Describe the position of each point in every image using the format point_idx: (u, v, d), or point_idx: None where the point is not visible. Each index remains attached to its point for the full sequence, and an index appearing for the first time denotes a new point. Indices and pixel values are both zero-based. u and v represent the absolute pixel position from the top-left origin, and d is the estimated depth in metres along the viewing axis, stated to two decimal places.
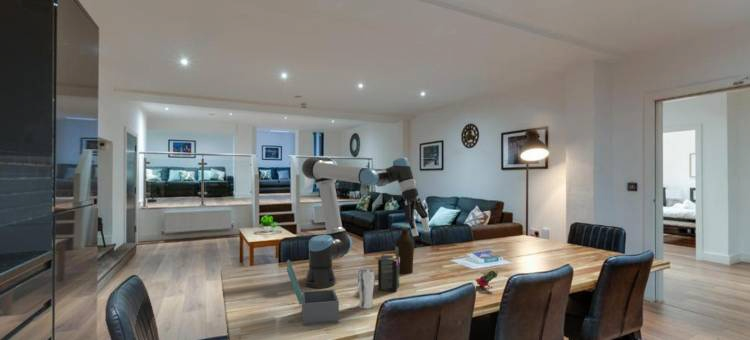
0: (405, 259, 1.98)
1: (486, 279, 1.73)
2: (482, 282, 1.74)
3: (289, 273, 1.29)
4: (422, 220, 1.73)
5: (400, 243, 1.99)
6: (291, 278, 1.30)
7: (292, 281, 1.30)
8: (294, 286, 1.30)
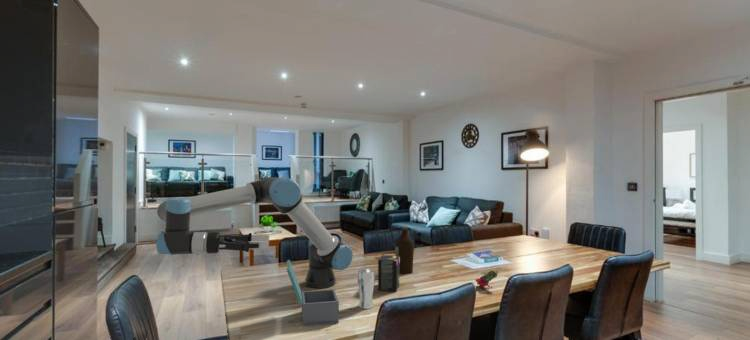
0: (405, 259, 1.98)
1: (486, 279, 1.73)
2: (482, 282, 1.74)
3: (289, 273, 1.29)
4: None
5: (400, 243, 1.99)
6: (291, 278, 1.30)
7: (292, 281, 1.30)
8: (294, 286, 1.30)
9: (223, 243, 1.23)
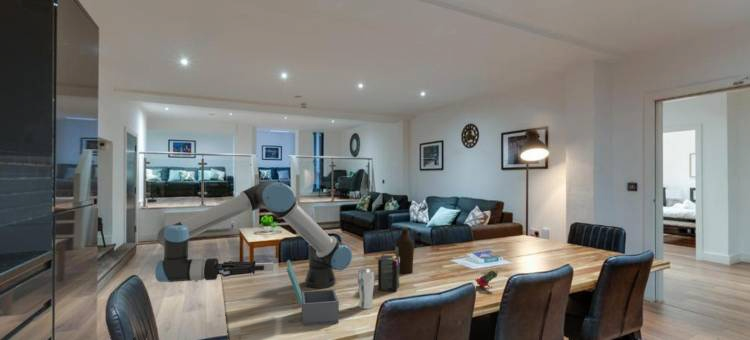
0: (405, 259, 1.98)
1: (486, 279, 1.73)
2: (482, 282, 1.74)
3: (289, 273, 1.29)
4: None
5: (400, 243, 1.99)
6: (291, 278, 1.30)
7: (292, 281, 1.30)
8: (294, 286, 1.30)
9: (228, 270, 1.26)
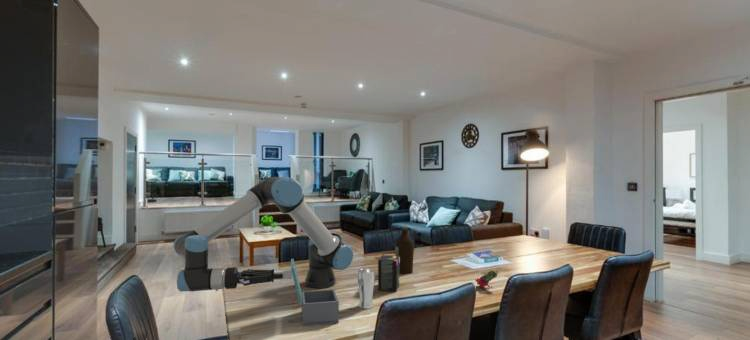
0: (405, 259, 1.98)
1: (486, 279, 1.73)
2: (482, 282, 1.74)
3: (293, 272, 1.30)
4: None
5: (400, 243, 1.99)
6: (294, 277, 1.30)
7: (295, 280, 1.30)
8: (296, 285, 1.30)
9: (248, 279, 1.27)
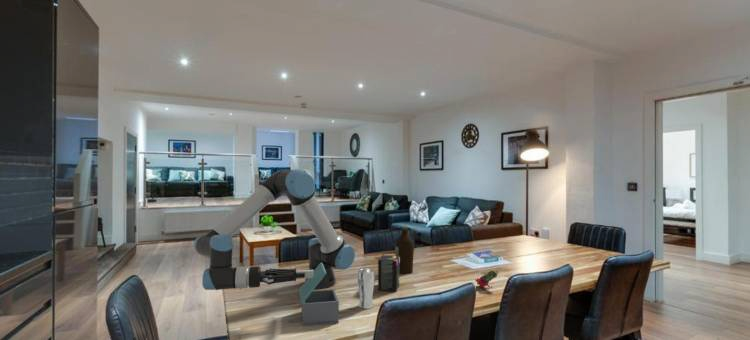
0: (405, 259, 1.98)
1: (486, 279, 1.73)
2: (482, 282, 1.74)
3: (323, 275, 1.32)
4: None
5: (400, 243, 1.99)
6: (319, 280, 1.32)
7: (317, 282, 1.32)
8: (314, 287, 1.31)
9: (272, 277, 1.29)
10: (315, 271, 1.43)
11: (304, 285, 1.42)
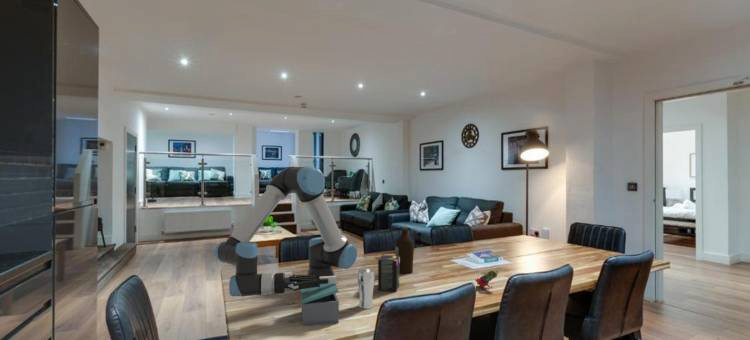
0: (405, 259, 1.98)
1: (486, 279, 1.73)
2: (482, 282, 1.74)
3: (334, 291, 1.33)
4: None
5: (400, 243, 1.99)
6: (329, 293, 1.33)
7: (326, 294, 1.32)
8: (321, 296, 1.32)
9: (297, 284, 1.32)
10: None
11: (308, 288, 1.42)
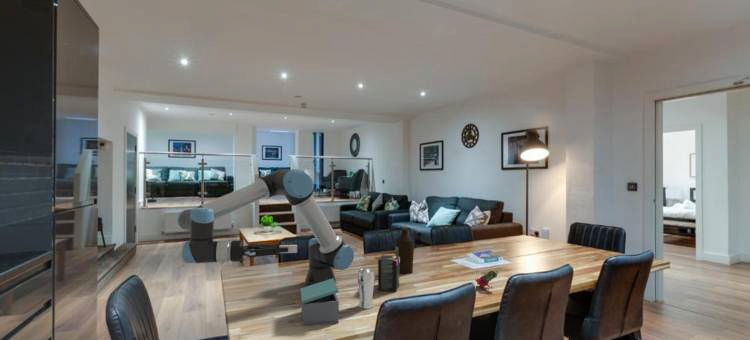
0: (405, 259, 1.98)
1: (486, 279, 1.73)
2: (482, 282, 1.74)
3: (334, 291, 1.33)
4: None
5: (400, 243, 1.99)
6: (329, 293, 1.33)
7: (326, 294, 1.32)
8: (321, 296, 1.32)
9: (254, 251, 1.27)
10: (325, 283, 1.44)
11: (308, 288, 1.42)
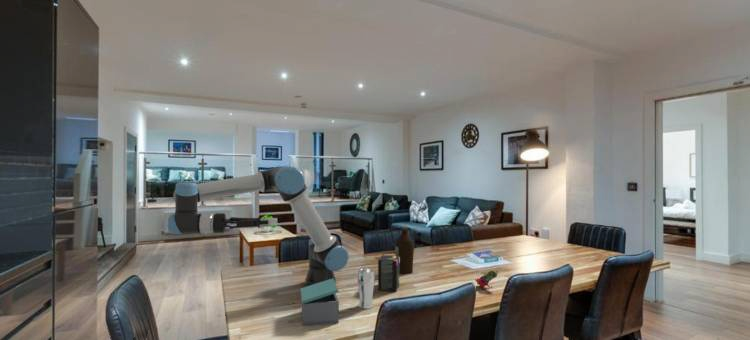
0: (405, 259, 1.98)
1: (486, 279, 1.73)
2: (482, 282, 1.74)
3: (334, 291, 1.33)
4: None
5: (400, 243, 1.99)
6: (329, 293, 1.33)
7: (326, 294, 1.32)
8: (321, 296, 1.32)
9: (235, 222, 1.35)
10: (325, 283, 1.44)
11: (308, 288, 1.42)
